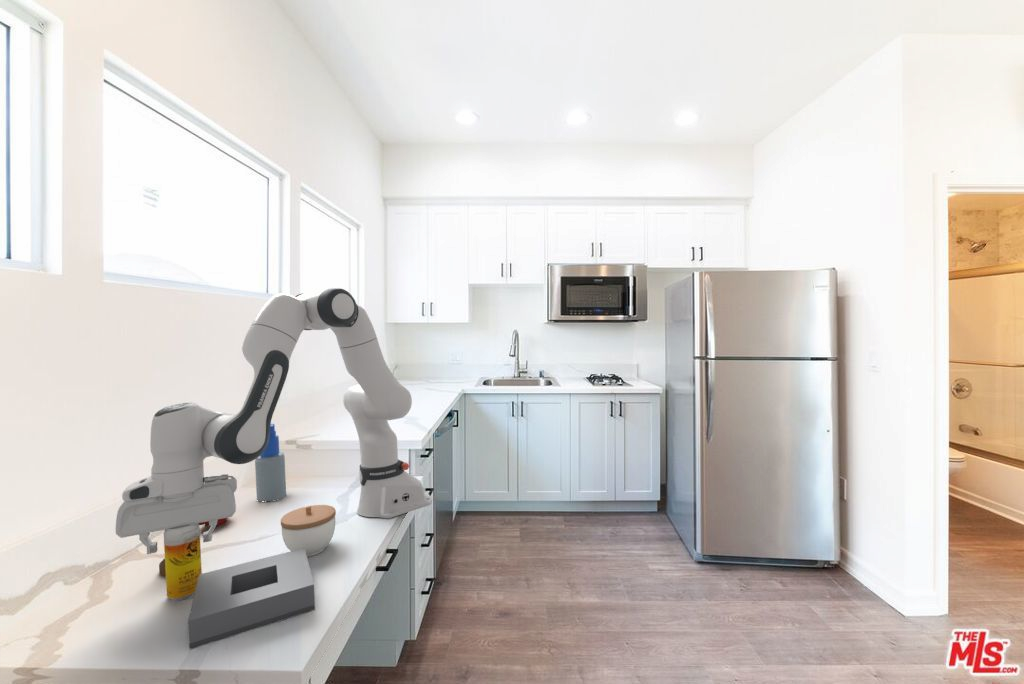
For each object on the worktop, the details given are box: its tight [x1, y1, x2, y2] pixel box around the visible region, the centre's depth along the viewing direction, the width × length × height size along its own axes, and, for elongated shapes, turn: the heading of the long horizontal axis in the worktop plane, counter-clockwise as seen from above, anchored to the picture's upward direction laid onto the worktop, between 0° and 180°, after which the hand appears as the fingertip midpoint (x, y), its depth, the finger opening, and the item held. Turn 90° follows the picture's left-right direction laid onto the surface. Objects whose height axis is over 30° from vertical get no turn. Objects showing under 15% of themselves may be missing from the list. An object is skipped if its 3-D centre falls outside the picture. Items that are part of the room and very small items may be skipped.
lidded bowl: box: [280, 504, 337, 558], centre depth 112 cm, size 13×13×11 cm
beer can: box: [163, 523, 203, 602], centre depth 94 cm, size 6×6×15 cm
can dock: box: [187, 548, 316, 650], centre depth 90 cm, size 20×18×5 cm
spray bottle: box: [254, 423, 287, 503], centre depth 152 cm, size 9×9×25 cm
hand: (180, 546), depth 94 cm, fingers open, 8 cm apart
